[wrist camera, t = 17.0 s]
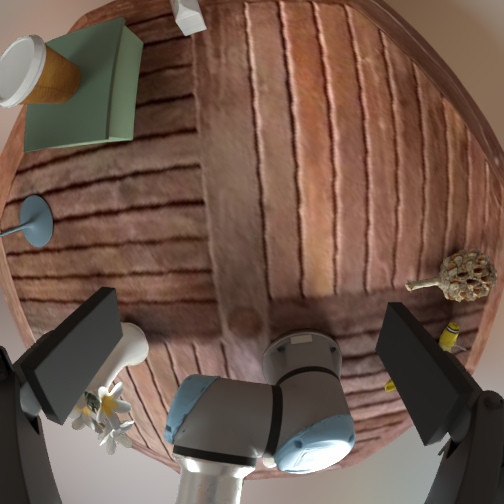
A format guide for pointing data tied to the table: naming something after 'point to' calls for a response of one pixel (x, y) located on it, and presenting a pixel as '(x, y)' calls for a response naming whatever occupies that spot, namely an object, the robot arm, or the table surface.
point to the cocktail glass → (35, 221)
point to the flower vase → (96, 394)
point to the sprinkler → (445, 343)
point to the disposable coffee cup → (35, 74)
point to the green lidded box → (91, 90)
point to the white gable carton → (188, 16)
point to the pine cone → (462, 276)
